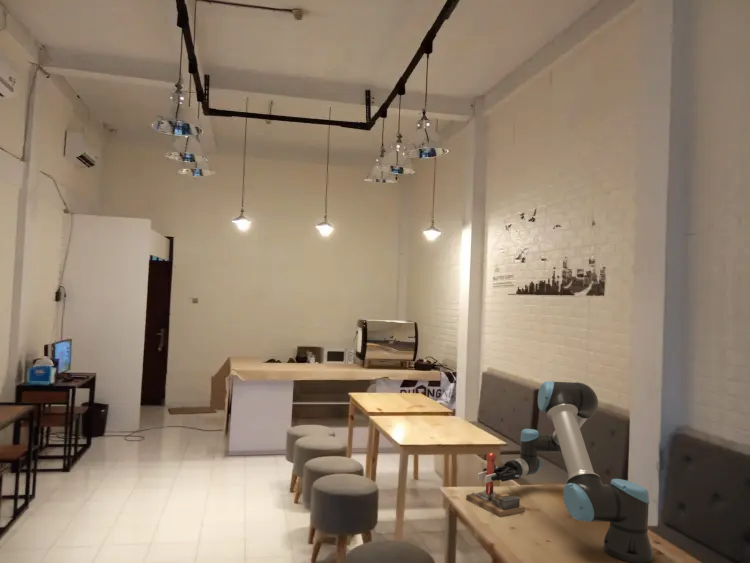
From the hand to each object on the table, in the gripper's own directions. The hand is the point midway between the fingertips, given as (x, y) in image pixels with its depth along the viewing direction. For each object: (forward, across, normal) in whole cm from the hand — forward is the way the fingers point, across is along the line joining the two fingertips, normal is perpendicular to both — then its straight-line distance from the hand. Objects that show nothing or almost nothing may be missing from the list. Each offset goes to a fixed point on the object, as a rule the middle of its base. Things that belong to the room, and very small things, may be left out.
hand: (481, 478), depth 221 cm
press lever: (-5, -2, -9) cm, 10 cm away
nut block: (-4, -7, -9) cm, 12 cm away
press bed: (-5, -3, -11) cm, 12 cm away
